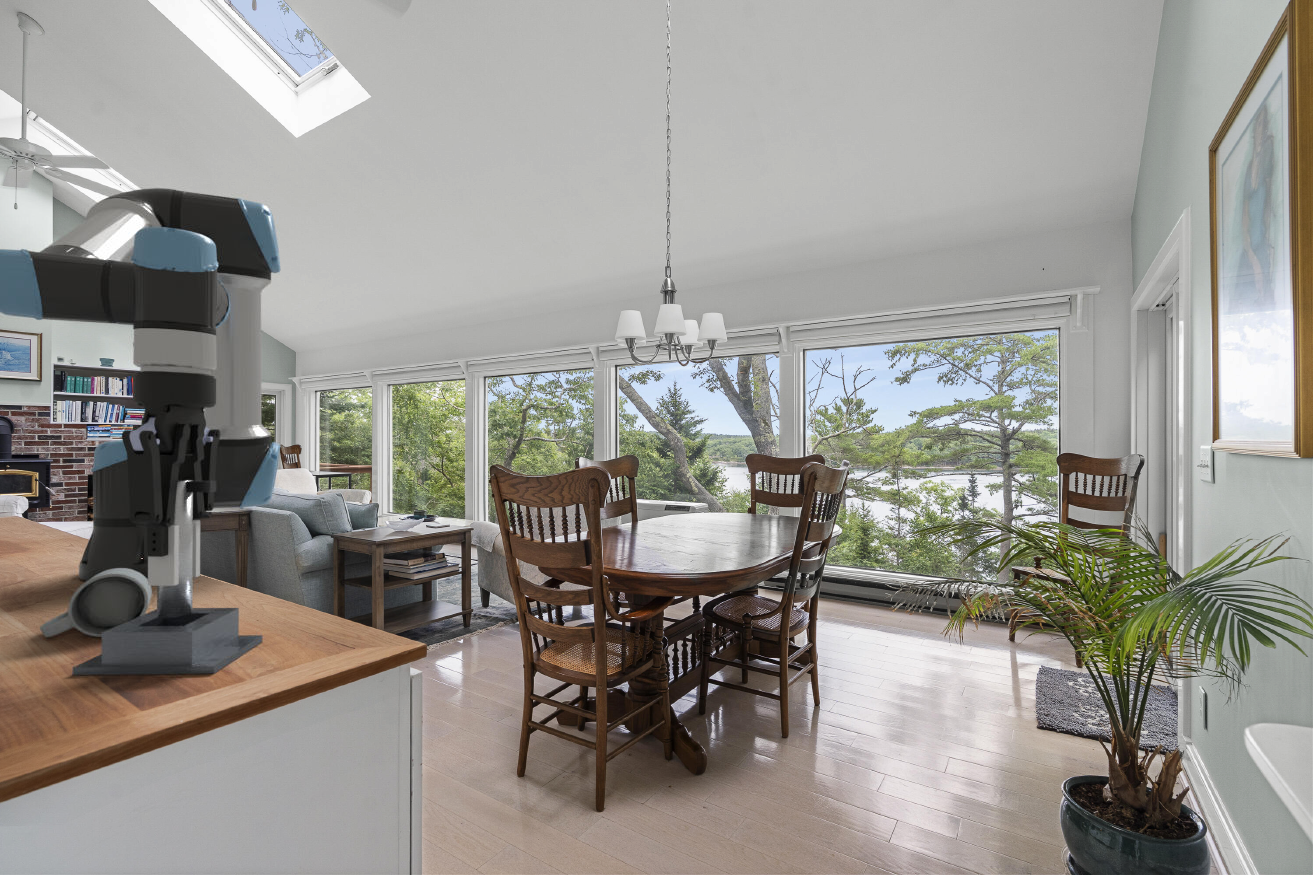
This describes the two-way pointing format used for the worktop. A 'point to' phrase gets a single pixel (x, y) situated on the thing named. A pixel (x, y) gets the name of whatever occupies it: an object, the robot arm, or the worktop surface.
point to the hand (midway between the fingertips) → (174, 580)
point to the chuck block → (171, 644)
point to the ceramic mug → (103, 603)
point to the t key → (182, 552)
